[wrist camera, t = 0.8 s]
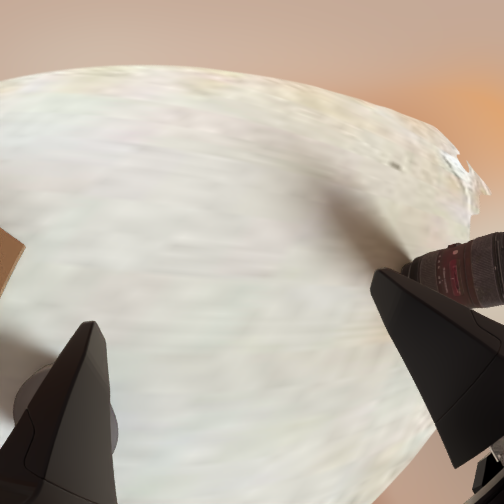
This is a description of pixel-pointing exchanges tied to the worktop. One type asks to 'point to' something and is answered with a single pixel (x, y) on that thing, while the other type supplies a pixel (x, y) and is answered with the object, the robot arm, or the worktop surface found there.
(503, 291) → the camera lens
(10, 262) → the ring mount
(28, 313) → the worktop surface
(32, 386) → the gray tapered cylinder
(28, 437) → the robot arm
